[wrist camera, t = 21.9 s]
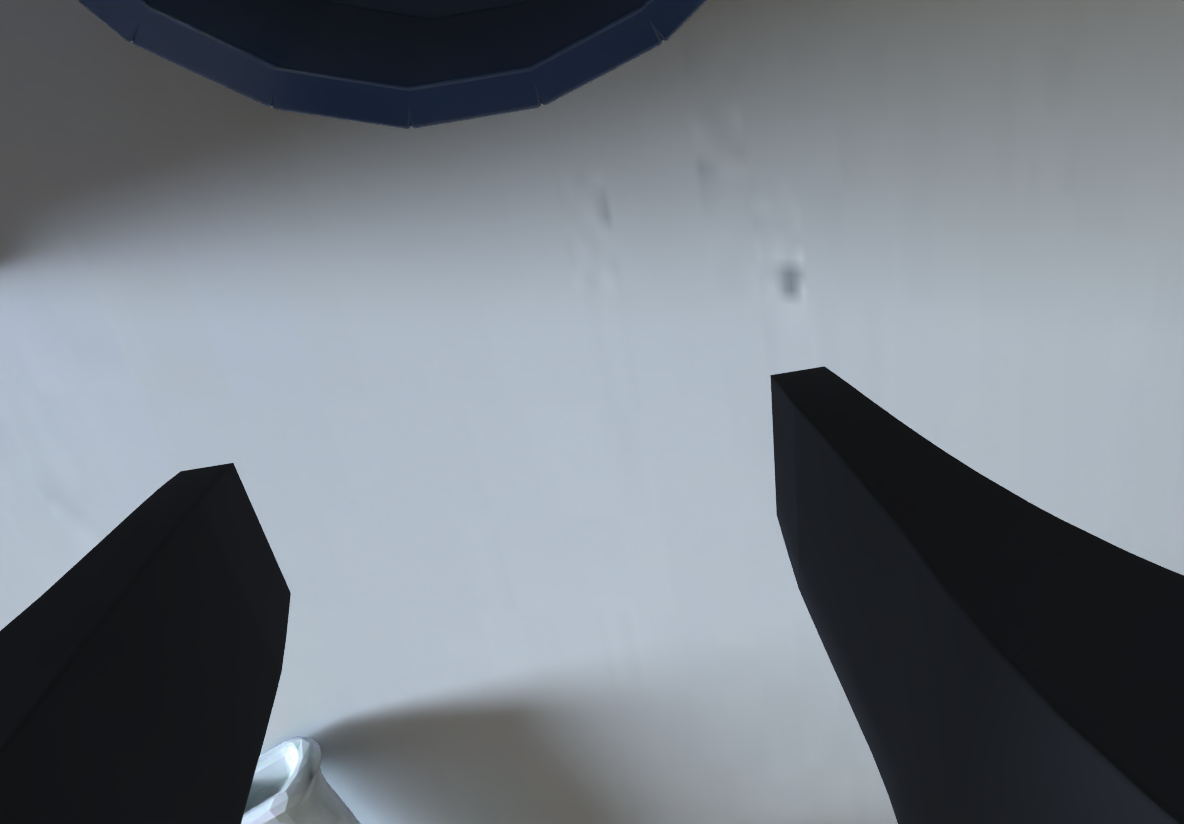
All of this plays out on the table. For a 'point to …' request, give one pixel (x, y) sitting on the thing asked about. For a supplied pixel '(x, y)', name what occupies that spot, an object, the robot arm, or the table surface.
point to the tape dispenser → (294, 788)
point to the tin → (398, 50)
